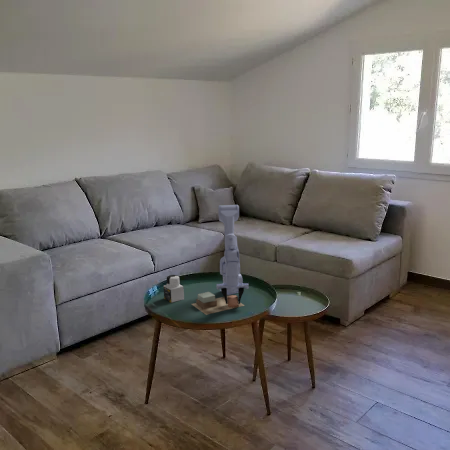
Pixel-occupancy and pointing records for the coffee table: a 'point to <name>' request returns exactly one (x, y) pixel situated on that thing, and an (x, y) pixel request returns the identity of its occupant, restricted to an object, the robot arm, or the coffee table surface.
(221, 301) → the board
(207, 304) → the tower base
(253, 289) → the coffee table surface
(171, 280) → the medicine bottle
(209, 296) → the tower top
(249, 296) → the coffee table surface
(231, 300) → the cylinder
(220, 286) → the robot arm
